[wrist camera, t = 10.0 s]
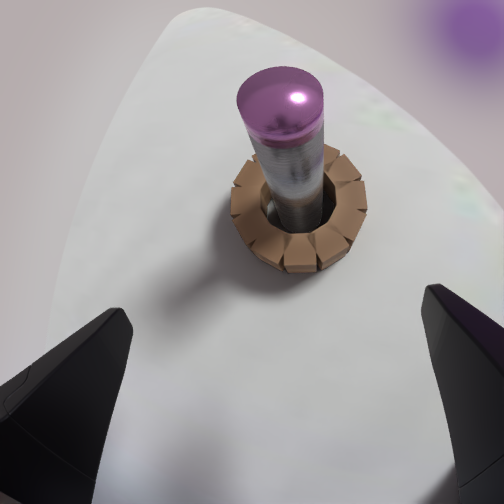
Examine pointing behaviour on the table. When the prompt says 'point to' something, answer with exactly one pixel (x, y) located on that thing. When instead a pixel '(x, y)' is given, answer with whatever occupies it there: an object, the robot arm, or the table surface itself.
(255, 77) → the purple capped tube
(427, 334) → the robot arm
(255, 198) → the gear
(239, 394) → the table surface
